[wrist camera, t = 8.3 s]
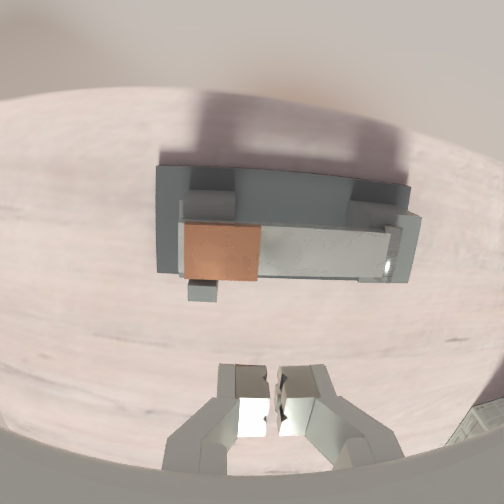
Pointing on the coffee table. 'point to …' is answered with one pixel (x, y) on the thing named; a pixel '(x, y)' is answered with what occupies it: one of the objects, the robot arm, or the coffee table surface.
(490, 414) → the supplement box
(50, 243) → the coffee table surface
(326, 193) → the base
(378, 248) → the bar
